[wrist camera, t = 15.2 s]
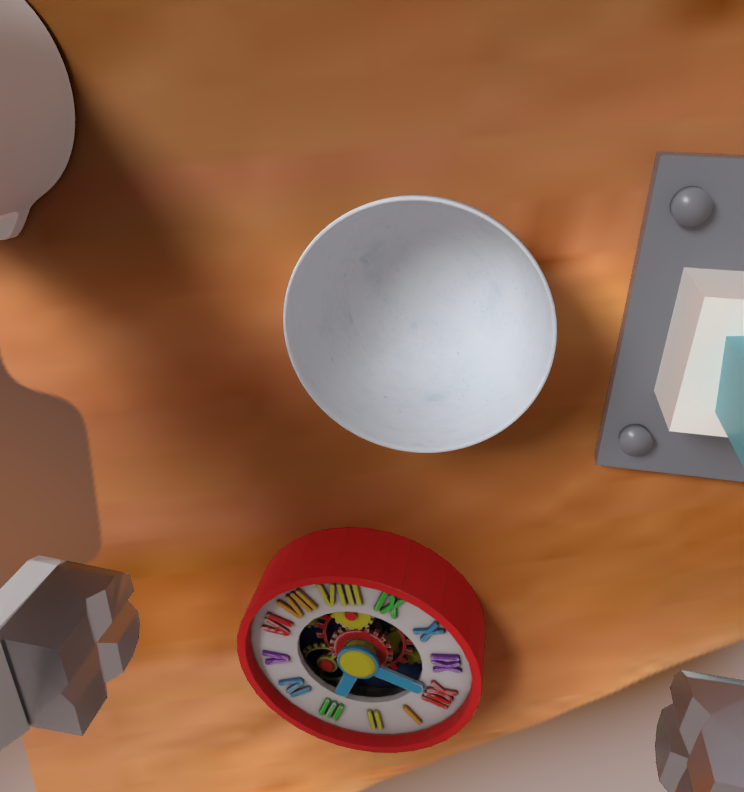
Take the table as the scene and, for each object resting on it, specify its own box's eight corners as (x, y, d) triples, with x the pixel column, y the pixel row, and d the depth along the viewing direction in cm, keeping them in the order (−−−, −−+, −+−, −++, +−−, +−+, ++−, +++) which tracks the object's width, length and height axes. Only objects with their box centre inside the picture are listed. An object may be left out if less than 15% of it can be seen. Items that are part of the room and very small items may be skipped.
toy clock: (273, 536, 48) (528, 644, 48) (297, 489, 53) (527, 586, 53) (212, 693, 58) (423, 782, 58) (237, 641, 63) (430, 723, 63)
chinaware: (461, 114, 38) (448, 131, 31) (597, 320, 42) (611, 374, 35) (273, 262, 44) (229, 302, 37) (407, 428, 48) (389, 491, 42)
